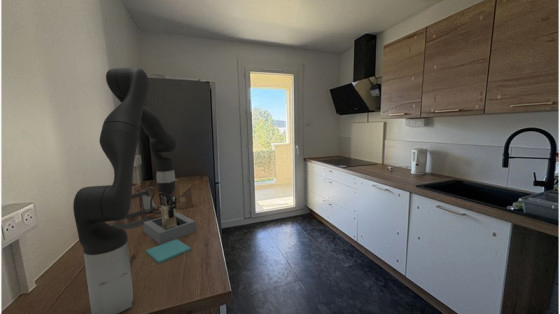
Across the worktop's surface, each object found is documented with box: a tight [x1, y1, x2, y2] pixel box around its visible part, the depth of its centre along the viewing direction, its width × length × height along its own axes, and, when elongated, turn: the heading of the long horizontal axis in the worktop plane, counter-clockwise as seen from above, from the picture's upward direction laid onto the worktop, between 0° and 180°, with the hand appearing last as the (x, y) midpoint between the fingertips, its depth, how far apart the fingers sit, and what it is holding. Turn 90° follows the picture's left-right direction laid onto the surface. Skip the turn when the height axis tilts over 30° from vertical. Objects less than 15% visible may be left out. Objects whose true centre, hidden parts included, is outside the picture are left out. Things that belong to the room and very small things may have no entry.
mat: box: [145, 238, 192, 264], centre depth 89 cm, size 12×12×1 cm
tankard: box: [111, 182, 162, 231], centre depth 118 cm, size 24×17×20 cm
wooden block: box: [173, 178, 193, 210], centre depth 138 cm, size 4×11×18 cm, turn 111°
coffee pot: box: [141, 181, 156, 214], centre depth 138 cm, size 21×12×15 cm, turn 20°
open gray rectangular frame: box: [143, 212, 197, 245], centre depth 106 cm, size 18×16×5 cm
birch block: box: [160, 205, 178, 229], centre depth 105 cm, size 4×4×10 cm
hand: (168, 216), depth 105 cm, fingers closed on birch block, 4 cm apart
